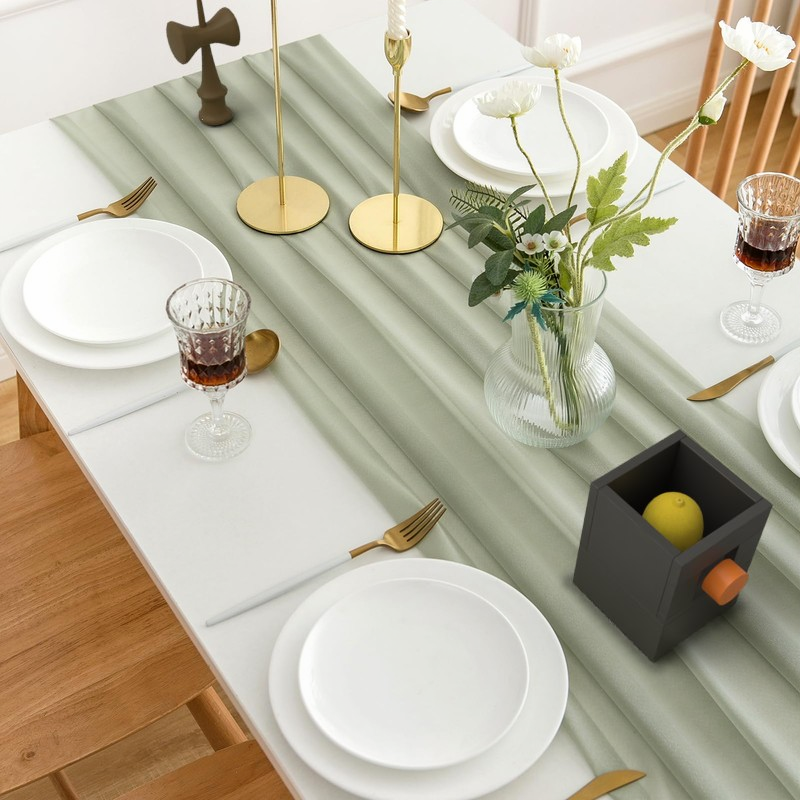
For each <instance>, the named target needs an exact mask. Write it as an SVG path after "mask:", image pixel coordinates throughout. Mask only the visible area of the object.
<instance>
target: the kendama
mask: <svg viewBox="0 0 800 800" xmlns="http://www.w3.org/2000/svg"><path fill="white" fill-rule="evenodd" d="M195 2H196V10H197V11H196V12H197V20H198V24H197V25H192V26H189V25H185V24H182V23H181V22H176V21H175V20H170V21H168V22H166V28H165V33H166V39H167V42H168V46H169V49H170V52H171V53H172V55H173V58H175V60H176V61H177V62H178V63H179V64H181V65H187V64H188V63H189V62H190V61H191V60H192V59H193V57H194V55H195V54H196V53H198V50H200V52H201V81H200V86H199V87H198V88H197V90H196V94H197V96H198V98H200V101H201V108H200V110H199V111H198V115H197V117H198V119H199V120H200V122H202V123H203V124H205V125H208V126H218V125H219V126H220V125H223V124H225V123H227V122H229V121H230V120H231V119H232V118H233V114H234V113H233V111H232V109H231V107H229V106H227V103H226V96H227V95H228V91H229V89H228V87H227V86H226V85H225V84H224V83H222V81H221V79H220V75H219V73H218V69H217V67H216V62H215V60H214V55H213V51H212V47H211V45H213V44H221V45H225V46H229V47H234V48H235V47H238V46H240V43H241V29H240V25H239V22H238V20H237V17H236V16H235V14H234V13H233V11H232V10H231V9H230V8H229V7H227V6H223V7H221V8H220V9H218V10H217V11H216V13H215V14H214V15H213V16H212V17H211V18H210V19H209V20H207V21H206V16H205V11H204V10H205V9H204V5H203V0H196V1H195ZM202 119H203V120H202Z"/></svg>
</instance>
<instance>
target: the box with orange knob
mask: <svg viewBox="0 0 800 800" xmlns="http://www.w3.org/2000/svg"><path fill="white" fill-rule="evenodd" d="M667 492H678V493H682V494H685V495H687V496H689V497H690V498H691V499H693V500H694V501H695V502H696V503H697V505H698V506H699V508H700V510H701V512H702V515H703V523H704V530H703V535H702V539H701V540H700V541H699V542H697V543H696V544H695V545H693V546H692V547H690V548H689V549H687V550H686V551H684V552H683V553H682V552H681V551H679V550H678V549H677V548H676V547H675V546H674V545H673V544H672V543H671V542H670V541H668V540H667V539H666V538H665V537H664V536H663V535H662V534H661V533H660V532H658V531H657V530H656V529H655V528H654V527H653V526H652V525H651V524H650V523H648V522H647V521H646V520H645V519H644V518H643V517H642V515H643V513H644V511H645V509H646V507H647V506H648V504H649V503H650V502H651V501H652V500H653V499H654V498H655V497H657V496H659V495H661V494H664V493H667ZM585 506H586V507H585V512H584V516H583V517H584V518H583V522H582V529H581V534H580V539H579V544H578V549H577V555H576V561H575V566H574V570H573V571H574V572H573V577H572V583H573V585H574V586H576V587H577V588H578V590H580V591H581V592H582V594H583V595H585V596H586V597H587V599H588V600H589V601H590V602H592V604H593V605H595V607H597V608H598V610H600V612H601V613H602V614H604V615H605V617H607V619H608V620H610V621H611V623H613V624H614V626H615V627H616V628H617V629H619V630H620V631H621V633H622V634H623V635H625V636H626V638H628V640H629V641H630V642H632V643H633V644H634V645H635V647H637V649H638V650H639V651H640V652H641V653H642V654H643V655H644V656H645V657H647V659H648V660H649V661H650V662H651V663H655V662H657V661H658V660H659V659H660V658H662V657H664V655H666V654H667V653H669V652H670V651H672V650H673V649H675V648H676V647H678V645H680V644H681V643H683V642H684V641H686V640H687V639H689V638H690V637H691V636H693V635H694V634H696V633H697V632H699V630H701V629H702V628H704V627H705V626H706V625H708V624H710V623H711V622H712V621H714V619H717V618H718V617H720V616H721V615H722V614H723V613H725V612H726V611H727V610H729V609H731V608H732V607H733V606H735V605H736V603H737V600H738V598H739V595H740V592H741V591H740V592H739V593H738V594H737V595H736V596H735V597H734V598H733V599H732V600H730V601H729V602H728V603H726V604H724V605H719V604H718V603H717V602H716V601H715V600H714V599H713V598H711V597H710V596H709V595H708V594H707V593H706V592H705V591H704V590H703V589H702V584H703V581H704V579H705V578H706V576H707V575H708V574H709V572H710V571H711V570H712V569H713V568H714V567H715V566H716V565H718V564H719V563H720V562H722V561H723V560H725V559H731V560H732V561H734V562H735V563H736V564H737V565H738V566H739V567H740V568H742V569H743V570H744V571H745V572H746V573H747V574H748V572H749V569H750V567H751V564H752V561H753V558H754V556H755V553H756V551H757V548H758V545H759V543H760V540H761V537H762V535H763V532H764V531H765V528H766V525H767V523H768V519H769V516H770V514H771V512H772V509H773V506H774V504H773V503H771V502H770V501H769V500H768V499H767V498H765V497H764V496H763V495H762V494H760V493H759V492H758V491H756V490H755V489H754V488H753V487H752V486H750V484H748V483H747V482H746V481H744V480H743V479H742V478H741V477H740V476H738V475H737V474H736V473H735V472H734V471H732V470H731V469H730V468H728V467H727V466H726V465H725V464H724V463H722V462H721V461H720V460H718V459H717V458H716V457H715V456H714V455H712V454H711V452H709V451H708V450H706V449H705V448H704V447H702V446H701V445H700V444H699V443H698V442H696V441H695V439H693V438H691V437H690V436H689V435H687V434H686V432H684V431H683V430H682V429H681V428H678V429H677V430H675V431H674V432H673V433H671V434H669V435H667V436H666V437H664V438H663V439H660V440H659V441H657V442H656V443H654V444H653V445H650V446H649V447H648V448H646V449H644V450H642V451H640V452H639V453H638V454H636V455H634V456H632V457H630V458H629V459H627V460H626V461H624V462H622V463H621V464H620V465H617V466H616V467H614V468H613V469H611V470H609V471H608V472H606V473H604V474H603V475H601V476H600V477H598V478H596V479H594V480H593V481H590V485H589V491H588V496H587V501H586V505H585Z"/></svg>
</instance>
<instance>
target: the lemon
mask: <svg viewBox="0 0 800 800" xmlns="http://www.w3.org/2000/svg"><path fill="white" fill-rule="evenodd" d="M642 517H643V518H644V519H645V520H646V521H647V522H648V523H650V524H651V525H652V526H653V527H654V528H655V529H656V530H657V531H658V532H660V533H661V534H662V535H663V536H664V537H665V538H666V539H667V540H668V541H670V542H671V543H672V544H673V545H674V546H675V547H676V548H677V549H678V550H679V551H681V552H682V553H683V552H684V551H686V550H687V549H689V548H690V547H692V546H693V545H695V544H696V543H697V542H699V541H700V540H701V539H702V535H703V530H704V523H703V515H702V512H701V510H700V508H699V506H698V505H697V503H696V502H695V501H694V500H693V499H691V498H690V497H689V496H687V495H685V494H682V493H678V492H667V493H664V494H661V495H659V496H657V497H655V498H654V499H653V500H652V501H651V502H650V503H649V504H648V506H647V507H646V509H645V511H644V513H643V515H642Z"/></svg>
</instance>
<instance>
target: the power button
mask: <svg viewBox="0 0 800 800" xmlns="http://www.w3.org/2000/svg"><path fill="white" fill-rule="evenodd" d="M749 577H750V576H749V573H748V572H747V573H746V572H745V571H744V570H743V569H742V568H740V567H739V566H738V565H737V564H736V563H735V562H734V561H732V560H731V559H725V560H723V561H722V562H720V563H719V564H718V565H716V566H715V567H714V568H713V569H712V570H711V571H710V572H709V574H708V575H707V576H706V578H705V579H704V581H703V584H702V589H703V590H704V591H705V592H706V593H707V594H708V595H709V596H710V597H711V598H713V599H714V600H715V601H716V602H717V603H718V604H719V605H724V604H726V603H728V602H729V601H730V600H732V599H733V598H734V597H735V596H736V595H737V594H738V593H739V592H741V591H742V590H743V589H744V587H745V586H746V585H747V583H748V580H749ZM739 594H740V593H739Z"/></svg>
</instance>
